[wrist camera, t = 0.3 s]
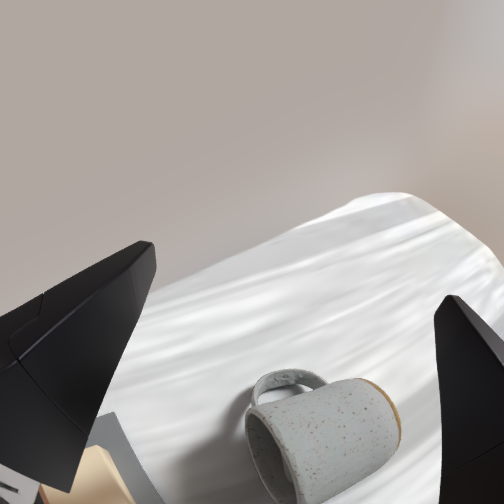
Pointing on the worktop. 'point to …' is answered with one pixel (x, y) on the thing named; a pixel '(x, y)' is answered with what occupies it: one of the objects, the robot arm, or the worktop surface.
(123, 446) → the mat
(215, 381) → the worktop surface
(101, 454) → the card box
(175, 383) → the worktop surface
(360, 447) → the ceramic mug
